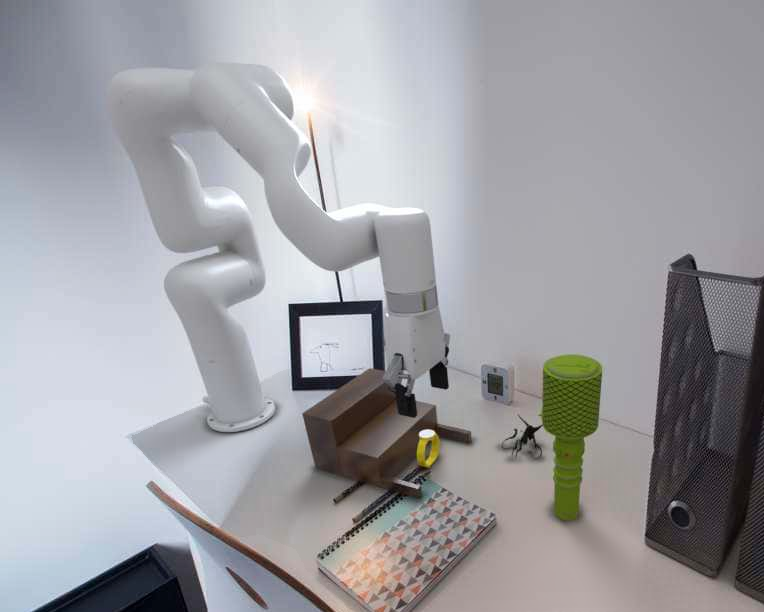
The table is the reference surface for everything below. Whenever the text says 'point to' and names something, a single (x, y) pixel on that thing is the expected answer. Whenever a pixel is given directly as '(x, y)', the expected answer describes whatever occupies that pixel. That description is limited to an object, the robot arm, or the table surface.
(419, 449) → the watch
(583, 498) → the table surface
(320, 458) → the step shelf
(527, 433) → the creature
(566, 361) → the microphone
